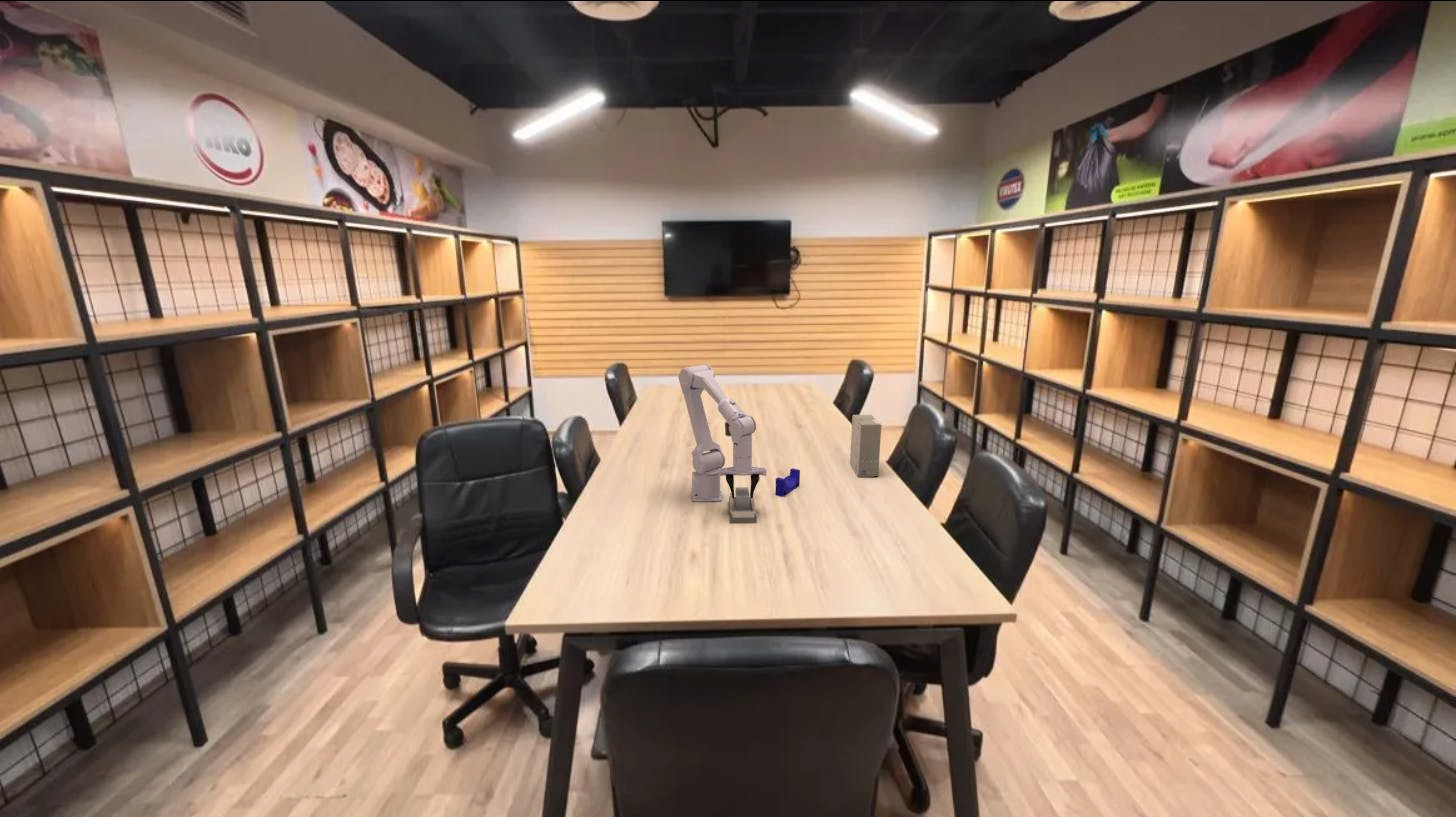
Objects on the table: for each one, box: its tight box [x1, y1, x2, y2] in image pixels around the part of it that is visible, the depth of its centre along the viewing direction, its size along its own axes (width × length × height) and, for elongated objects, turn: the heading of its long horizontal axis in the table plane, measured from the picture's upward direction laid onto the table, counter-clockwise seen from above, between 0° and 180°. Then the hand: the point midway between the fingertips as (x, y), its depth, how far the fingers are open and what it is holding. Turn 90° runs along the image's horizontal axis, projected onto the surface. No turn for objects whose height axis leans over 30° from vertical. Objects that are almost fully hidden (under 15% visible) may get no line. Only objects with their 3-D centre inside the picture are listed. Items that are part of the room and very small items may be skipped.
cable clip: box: [774, 467, 801, 498], centre depth 191 cm, size 12×4×6 cm, turn 146°
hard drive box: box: [849, 414, 883, 478], centre depth 207 cm, size 16×8×20 cm, turn 179°
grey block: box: [735, 486, 750, 510], centre depth 173 cm, size 4×8×5 cm, turn 1°
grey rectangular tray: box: [728, 492, 758, 524], centre depth 173 cm, size 8×16×4 cm, turn 1°
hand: (742, 497), depth 173 cm, fingers open, 5 cm apart
